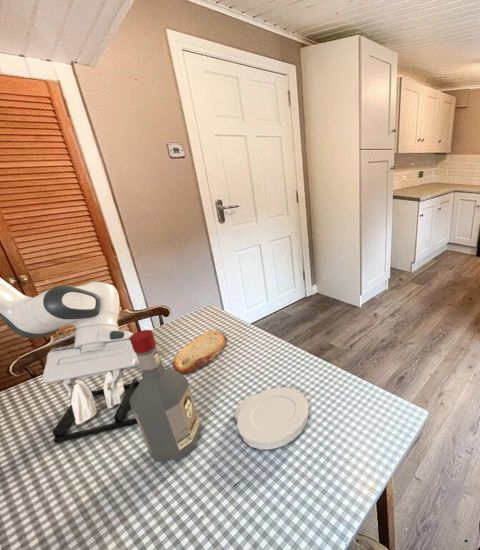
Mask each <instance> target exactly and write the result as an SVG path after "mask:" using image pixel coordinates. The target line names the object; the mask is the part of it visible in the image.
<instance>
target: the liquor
mask: <svg viewBox="0 0 480 550" xmlns="http://www.w3.org/2000/svg"><path fill="white" fill-rule="evenodd" d="M130 341H131V344H132V347H133V350H134V352H135V353H136V355H137V358H138V361H139V364H140V367H139V368H140V370H141V380H140V381H139V382H140V383H139V385H138V386H137V388H136V389H135V391H134V392H133V394H132V396H131V397H130V405H131V406H130V407H131V410H132V413H133V415H134V418H136V420H137V425H138V427H139V430H140V433H141V435H142V437H143V440H144V443H145V445H146V448H147V450H148V453H149V455H150V456H151V458H152V459H153V460H154V461H155V462H157V463H160V462H168V461H174V460H182V459H183V458H185V457H187V456H188V455H190V453H192V452H193V451H194V449H195V446H196V445H197V442H198V439H199V438H200V435H201V432H202V429H203V428H202V425H201V422H200V421H201V420H200V418H199V415H198V411H197V408H196V405H195V401H194V398H193V394H192V390H191V387H190V384H189V381H188V378H186V377H185V376H184V375H183V374H181V373H179V372H177V371H175V370H174V369H169V368H166V367H165V366H164V365H163V363H162V361H161V357H160V354H159V352H158V349H157V343H156V339H155V337H154V334H153V331H152V330H150V329H142V330H139V331H136V332H134V334H133V335H131V336H130Z"/></svg>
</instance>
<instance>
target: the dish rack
mask: <svg viewBox="0 0 480 550" xmlns="http://www.w3.org/2000/svg"><path fill="white" fill-rule="evenodd" d="M139 383H140V381H138V379H137V378H133V379H132V381H131V383H125V384H123V387H124V391H125V390H127V391H126V392H125V396H124V398H123V400H122V402H121V403H120V404H119V406H118V408H117V410H116V412H115V414H114V416H113V420H114V422H113V423H110V424H103V425H101V426H97V427H92V428H88V429H84V430H79V431H76V432H71V433H67V432H68V430H69V428H70V427H71V425H72V424H73V423H74V421H75V417H74V413H73V409H72V404H71V405H70V406H69V407H68V409H67V410H66V411H65V412H64V414H63V416H62V417H61V419H60V420H59V421H58V423H57V424H56V425H55V427H54V428H53V430H51V431H52V434H53V436H54V438H53V442H54V444H59V443H63V442H67V441H71V440H75V439H79V438H83V437H84V438H85V437H88V436H91V435H92V436H93V435H96V434H100V433H104V432H108V431H112V430H117V429H120V428H124V427H129V426H133V425H136V424H137V425H138V423H137V420H136V418H135V417H134V418H130V419H126V420H125V418H126V416H127V414H128V412H129V410H130V407H131V405H130V397H131V396H132V394H133V392H134V391H135V389H136V388H137V386H138V385H139ZM90 391H91V392H92V394H93V397H96V396H100V395H105V394H104V388H101V389H96V390H90ZM66 433H67V434H66Z"/></svg>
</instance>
